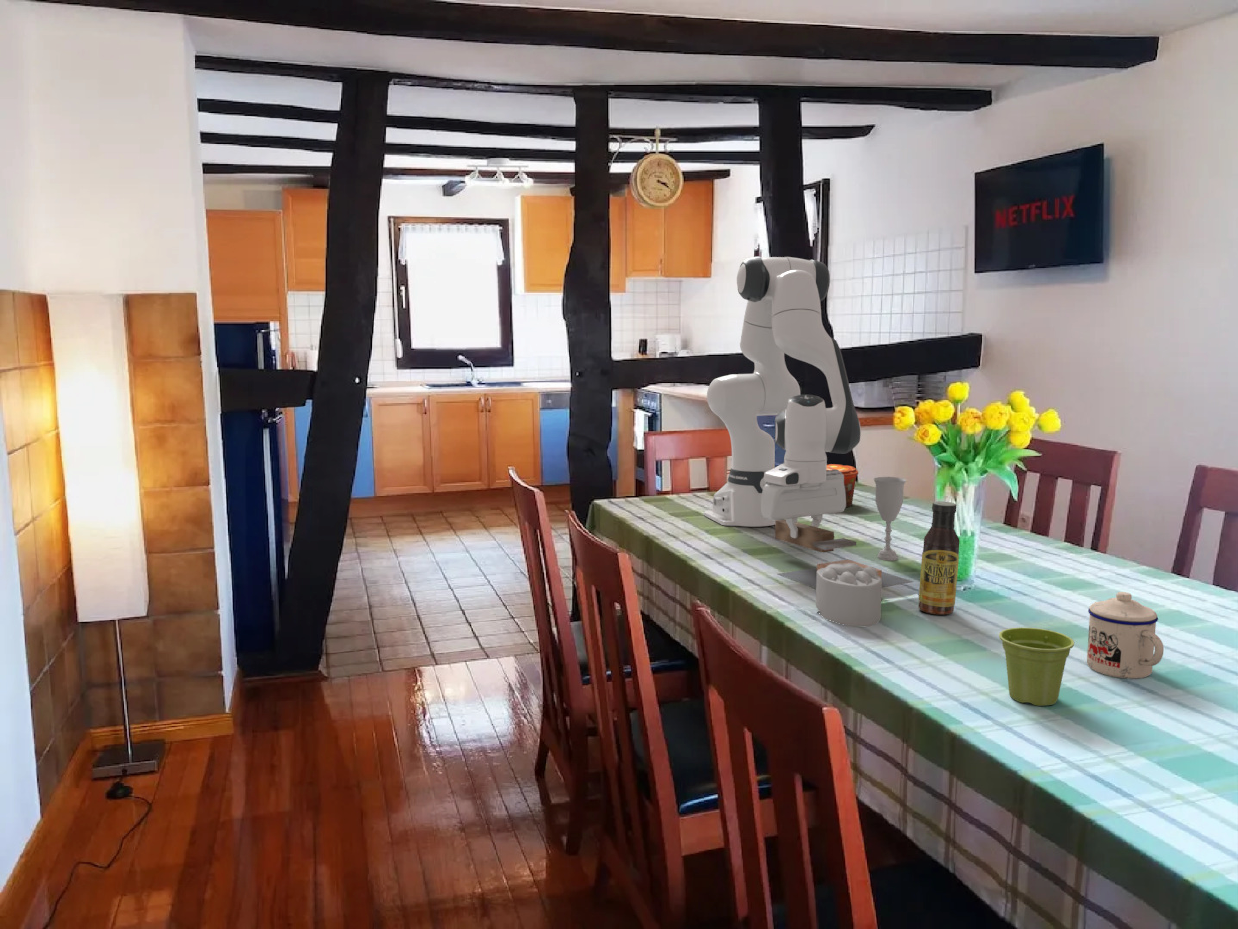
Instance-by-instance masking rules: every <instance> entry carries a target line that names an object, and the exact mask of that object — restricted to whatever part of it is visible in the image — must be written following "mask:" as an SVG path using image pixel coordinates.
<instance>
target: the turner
mask: <svg viewBox="0 0 1238 929" xmlns="http://www.w3.org/2000/svg"><path fill="white" fill-rule="evenodd" d="M795 524H796V526H797V528H798V529H800V530H801V537H799V538H792V537H791V535H790V531H791V529H790V528H789V526H788V524H787V522H786V519H782V520H776V521H775V525H774V526H775V527H774V528H775V530H774V531H775V534H774V536H775V539H776V540H779V541H782V542H787V543H790V544H793V545H796V546H799V547H803V548H806V549H809V550H813V551H817V552H818V553H819V552H820V553H828V552H829V553H830V552H834V551H835V550H834V549H841V548H842V549H843V548H849V547H854V546H857V541H856V540H853V539H852V540H851V539H848V538H844V537H841V538H835V531H833V530H828V529H825V528H821V527H814V526H810V525H811V524H810V525H809V524H805V523H803V522H798V521H797V523H795Z"/></svg>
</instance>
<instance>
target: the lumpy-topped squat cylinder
mask: <svg viewBox="0 0 1238 929" xmlns="http://www.w3.org/2000/svg"><path fill="white" fill-rule="evenodd" d="M875 568H876V567H872V566H870V567H866V568H861V567H860V566H858V565H857V564H854V563H846V564H830V565H828V566H827V567H826V568H821V569H819V570H818V571H817V581H816V589H815V592H816V593H815V594H816V595H815V608H816V609H817V610H818V612H817V613H818V614H819V613H820V614H819V615H820V616H821V615H822V616H823V617H824V618H825V619H824V618H823V617H822V616H821V617H822V618H823V619H824V620H826V619H828V620H831V621H834V622H837V623H836V624H838V623H840V624H839V625H842V624H844V625H843V626H847V625H848V626H849V627H855V626H866V627H871V626H874V625H876V624H878V623H879V622H880V621H881V618H882V593H883V592H882V591H883V590H882V588H883V587H882V579H881V578H880V577H879V576H878V573H877V570H876V569H877V568H876V569H875ZM828 620H827V621H828ZM879 620H880V621H879ZM831 621H830V622H831ZM834 622H833V623H834ZM848 626H847V627H848Z"/></svg>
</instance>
